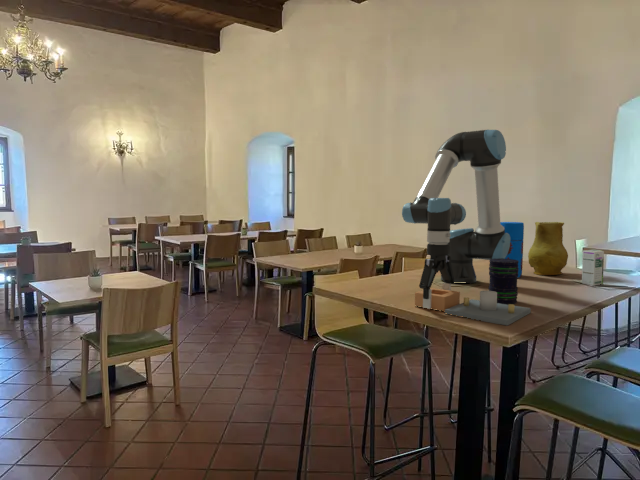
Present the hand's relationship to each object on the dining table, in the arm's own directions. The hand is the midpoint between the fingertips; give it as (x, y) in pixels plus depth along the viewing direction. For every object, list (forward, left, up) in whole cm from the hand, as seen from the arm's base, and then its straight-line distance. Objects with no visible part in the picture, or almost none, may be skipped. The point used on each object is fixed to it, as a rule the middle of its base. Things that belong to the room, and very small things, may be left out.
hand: (436, 304), depth 163 cm
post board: (+17, +2, -1) cm, 17 cm away
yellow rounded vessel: (+8, +94, -1) cm, 95 cm away
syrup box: (+30, +79, -1) cm, 85 cm away
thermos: (-4, +77, -1) cm, 77 cm away
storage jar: (+14, +22, -1) cm, 26 cm away
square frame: (0, 0, -1) cm, 1 cm away
